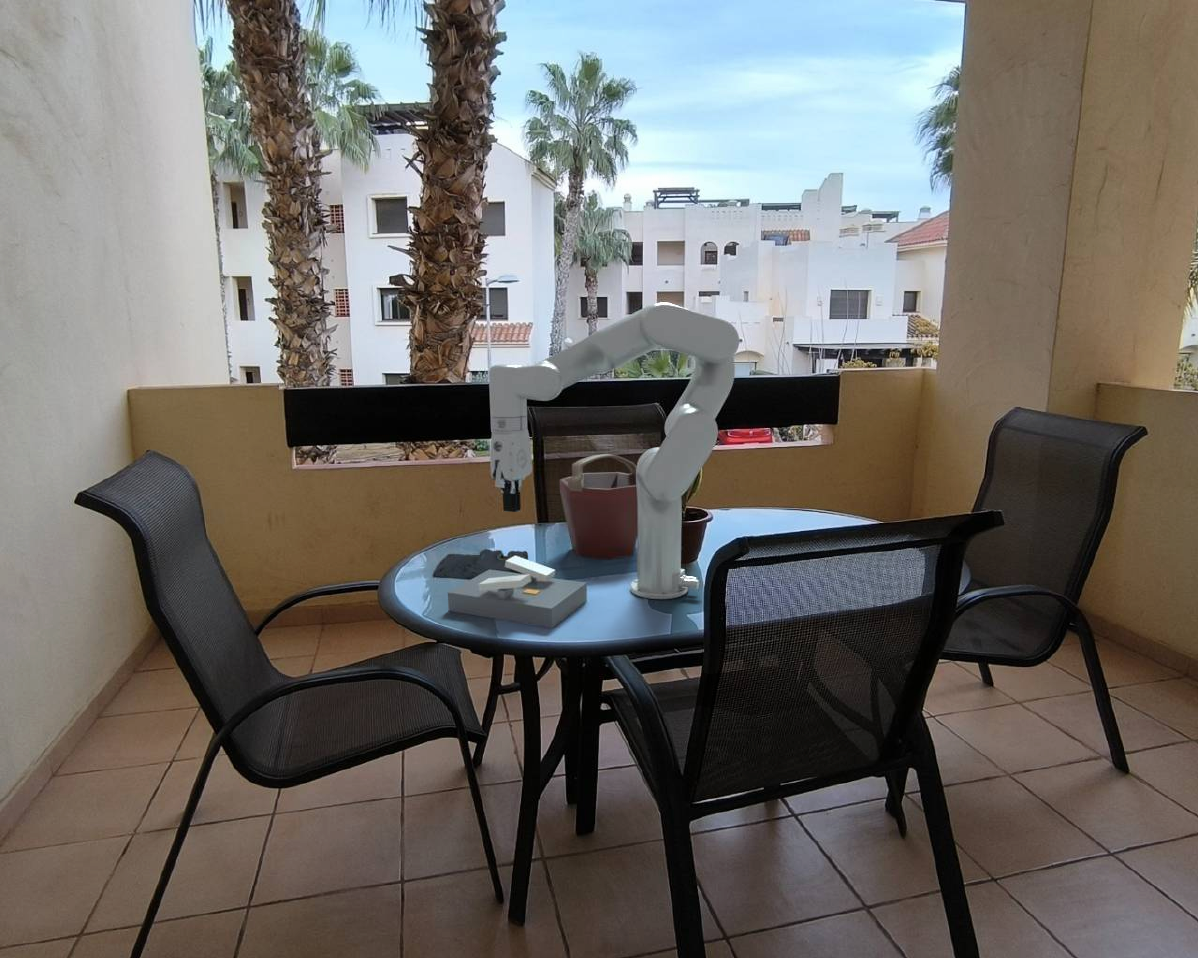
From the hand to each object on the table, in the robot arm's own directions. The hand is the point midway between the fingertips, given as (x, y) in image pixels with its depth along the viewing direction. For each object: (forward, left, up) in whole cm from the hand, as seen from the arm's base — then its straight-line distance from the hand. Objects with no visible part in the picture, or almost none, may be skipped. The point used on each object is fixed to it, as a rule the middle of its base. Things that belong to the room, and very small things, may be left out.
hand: (512, 510), depth 159 cm
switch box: (-4, +5, -19) cm, 20 cm away
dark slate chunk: (+16, -13, -20) cm, 29 cm away
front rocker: (-4, +10, -13) cm, 17 cm away
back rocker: (-4, 0, -13) cm, 14 cm away
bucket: (-4, -39, -19) cm, 44 cm away
